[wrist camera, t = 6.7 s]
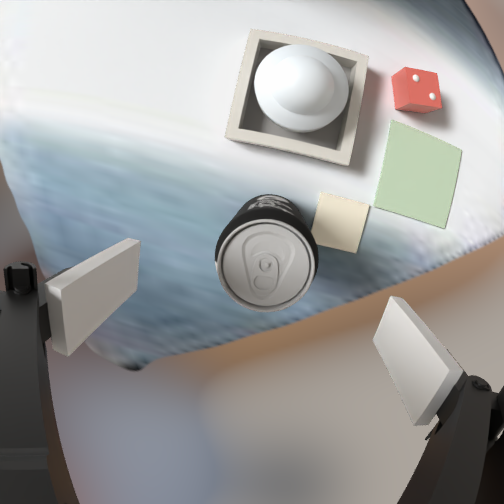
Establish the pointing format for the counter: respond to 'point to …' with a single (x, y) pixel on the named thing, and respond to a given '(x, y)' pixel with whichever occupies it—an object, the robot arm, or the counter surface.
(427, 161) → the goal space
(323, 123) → the dome
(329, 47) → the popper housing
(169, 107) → the counter surface
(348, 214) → the track space
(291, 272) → the beverage can
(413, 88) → the red die
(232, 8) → the counter surface
